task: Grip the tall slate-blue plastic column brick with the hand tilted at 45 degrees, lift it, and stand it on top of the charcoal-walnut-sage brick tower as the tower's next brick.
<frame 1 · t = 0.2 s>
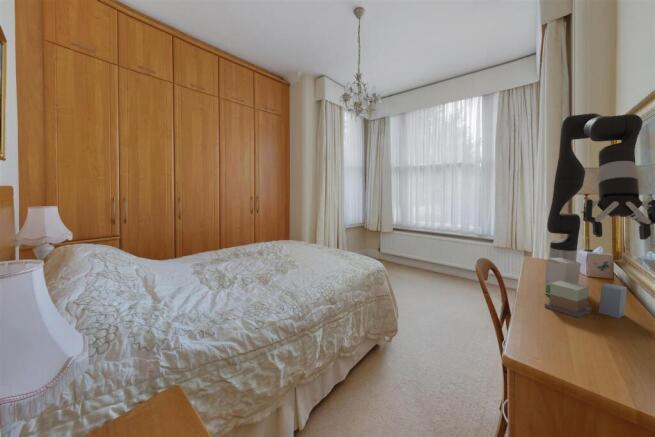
hand: (620, 237, 72), 31 cm above the table, tool tilted 20°, fingers open, 8 cm apart
skincare box: (560, 297, 110), on the table
tower base: (567, 309, 99), on the table
slate column brick: (611, 313, 95), on the table
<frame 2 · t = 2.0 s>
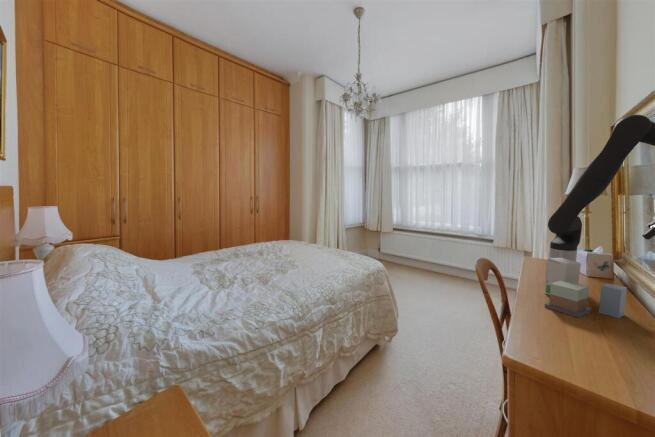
nothing on the table moved.
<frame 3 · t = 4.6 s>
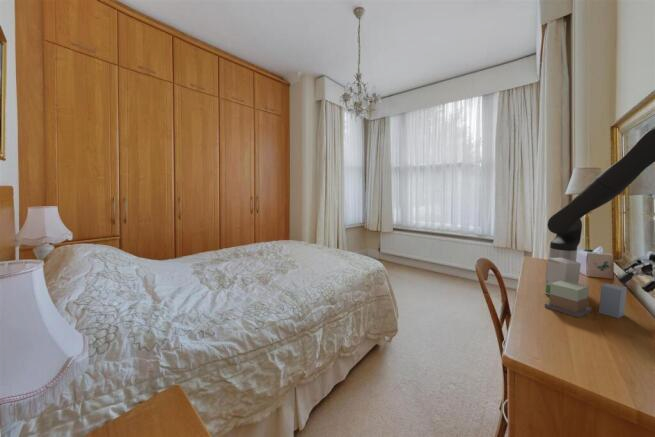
hand: (632, 285, 93), 10 cm above the table, tool tilted 45°, fingers open, 8 cm apart
nothing on the table moved.
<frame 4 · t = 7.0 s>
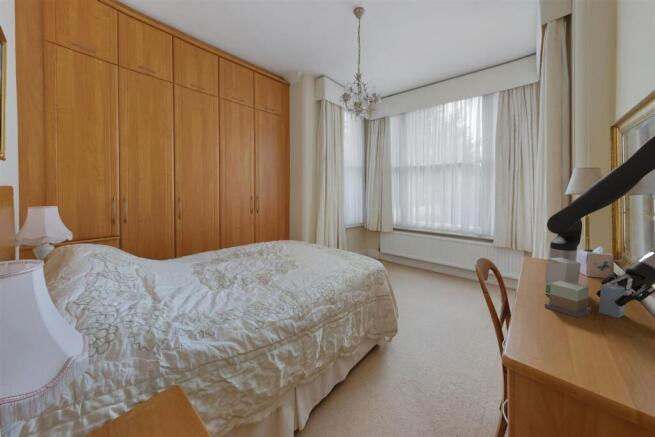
hand: (607, 300, 95), 5 cm above the table, tool tilted 45°, fingers closed on slate column brick, 7 cm apart
slate column brick: (611, 313, 95), on the table, touching gripper
everything else where it was.
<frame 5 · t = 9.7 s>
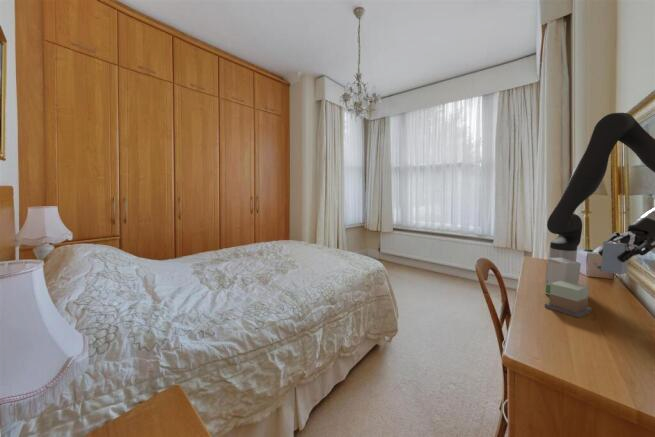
hand: (609, 257, 93), 20 cm above the table, tool tilted 45°, fingers closed on slate column brick, 7 cm apart
slate column brick: (613, 271, 94), point 15 cm above the table, touching gripper
everything else where it was.
when the fingers open (16 cm above the table, at t = 12.6 s): slate column brick drops 1 cm, resting on tower base.
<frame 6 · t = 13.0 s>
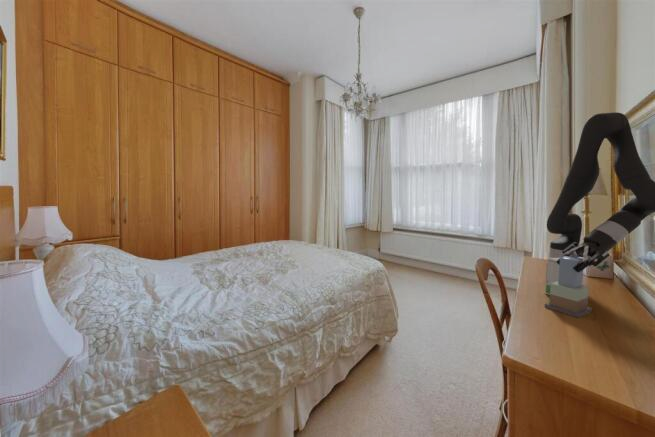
hand: (566, 267, 98), 16 cm above the table, tool tilted 45°, fingers open, 8 cm apart
slate column brick: (569, 285, 98), point 9 cm above the table, touching tower base
everything else where it was.
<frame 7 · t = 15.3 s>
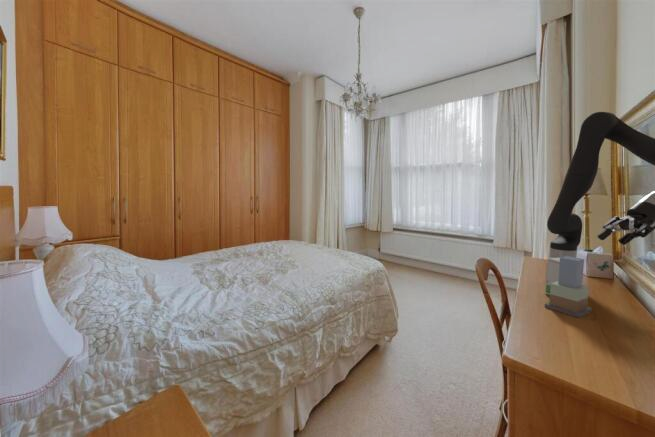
hand: (609, 240, 95), 26 cm above the table, tool tilted 45°, fingers open, 8 cm apart
nothing on the table moved.
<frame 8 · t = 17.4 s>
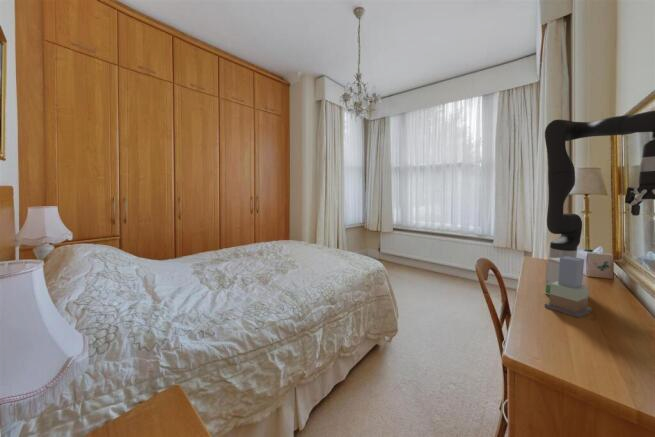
hand: (651, 216, 95), 34 cm above the table, tool pointing down, fingers open, 8 cm apart
nothing on the table moved.
at the end: slate column brick 0.2 cm off-centre on the tower base, point 9.2 cm above the tower base's base; slate column brick tilted 0°; the gripper is holding nothing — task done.
